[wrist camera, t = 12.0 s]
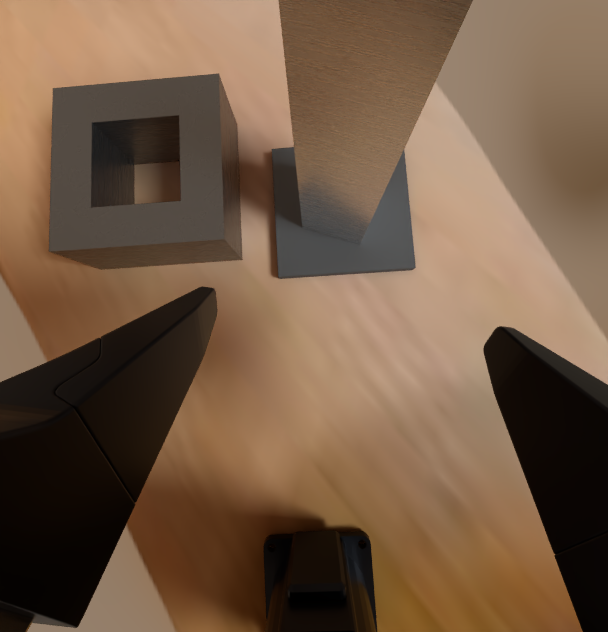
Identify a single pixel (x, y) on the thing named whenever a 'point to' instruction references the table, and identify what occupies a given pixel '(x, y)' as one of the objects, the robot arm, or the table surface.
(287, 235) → the rubber mat
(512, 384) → the robot arm
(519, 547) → the table surface
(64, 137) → the socket block
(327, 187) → the steel peg
